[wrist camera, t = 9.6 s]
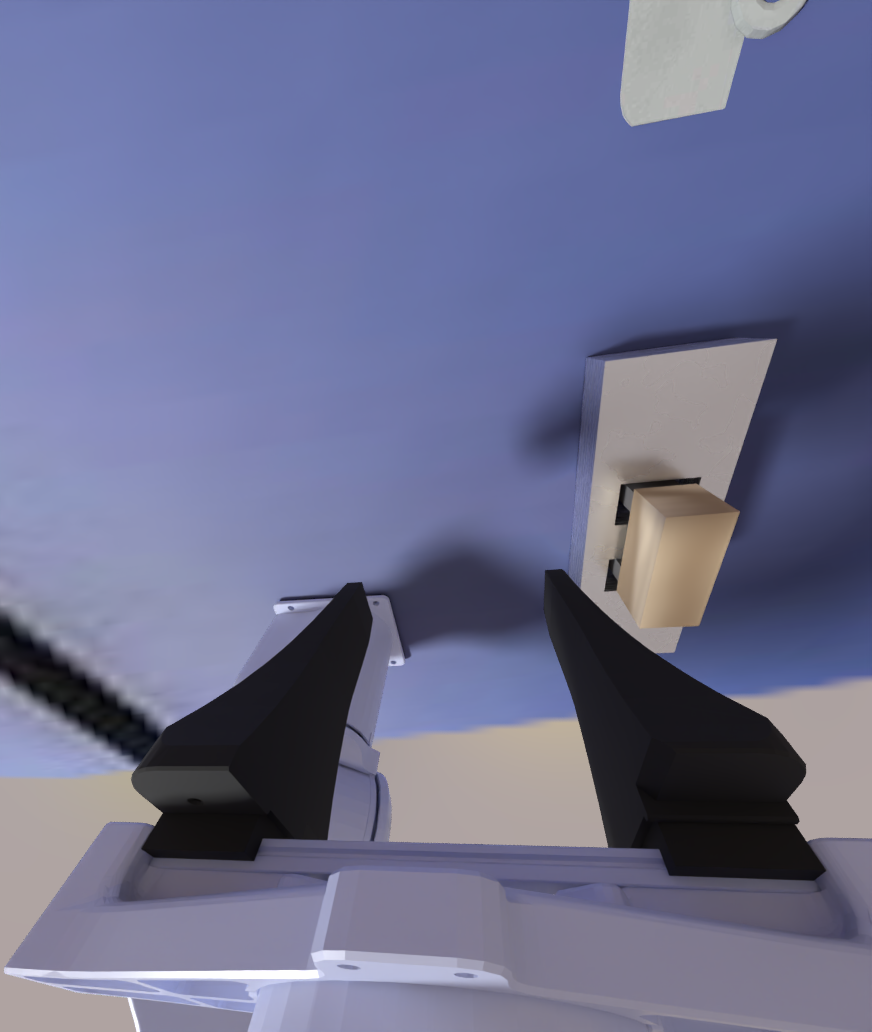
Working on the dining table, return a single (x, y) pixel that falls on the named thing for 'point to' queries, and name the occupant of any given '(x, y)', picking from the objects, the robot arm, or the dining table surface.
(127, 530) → the dining table surface
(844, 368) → the dining table surface
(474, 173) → the dining table surface
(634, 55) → the white tag with ring
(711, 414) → the grey plate with holes
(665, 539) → the clip
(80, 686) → the dining table surface
